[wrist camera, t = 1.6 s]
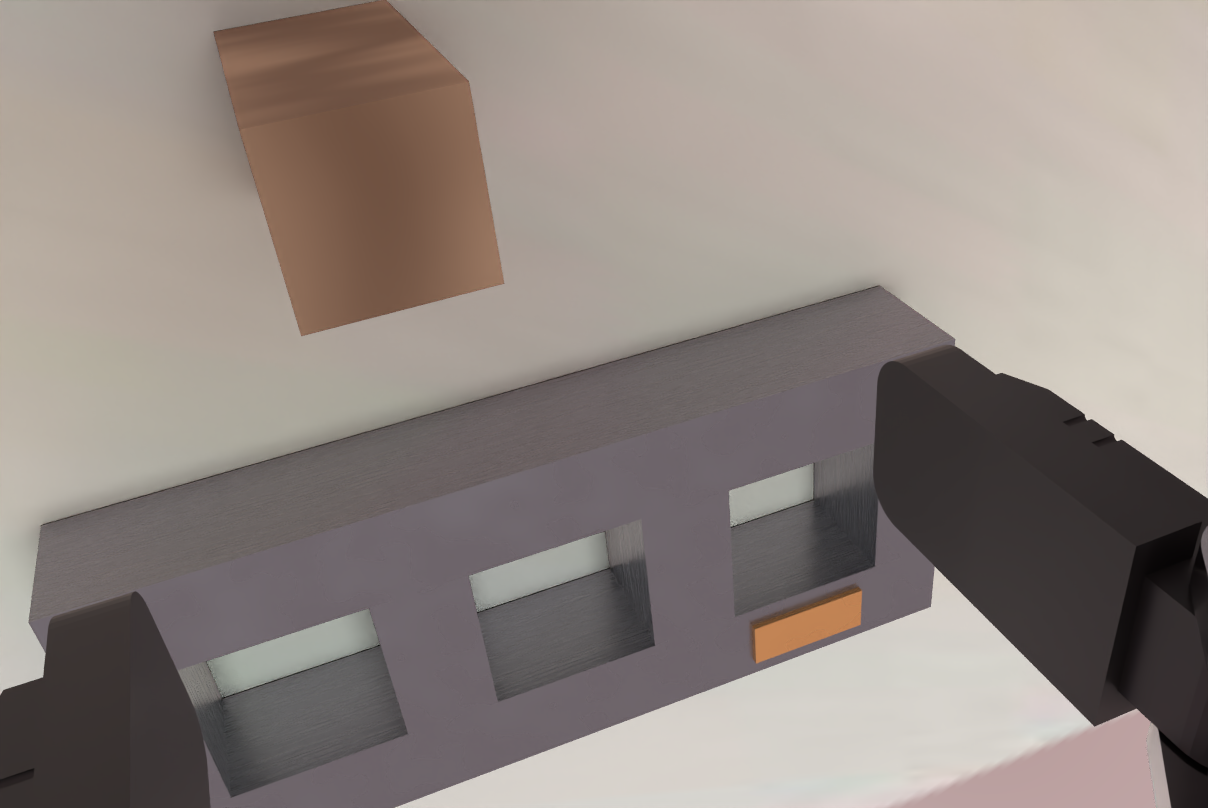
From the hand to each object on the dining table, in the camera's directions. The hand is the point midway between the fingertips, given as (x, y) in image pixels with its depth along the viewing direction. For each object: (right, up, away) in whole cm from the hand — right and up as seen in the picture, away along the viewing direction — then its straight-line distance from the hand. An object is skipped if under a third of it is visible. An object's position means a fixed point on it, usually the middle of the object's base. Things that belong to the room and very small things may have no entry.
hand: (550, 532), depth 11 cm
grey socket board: (-2, -3, +23) cm, 24 cm away
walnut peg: (-6, +9, +15) cm, 18 cm away
